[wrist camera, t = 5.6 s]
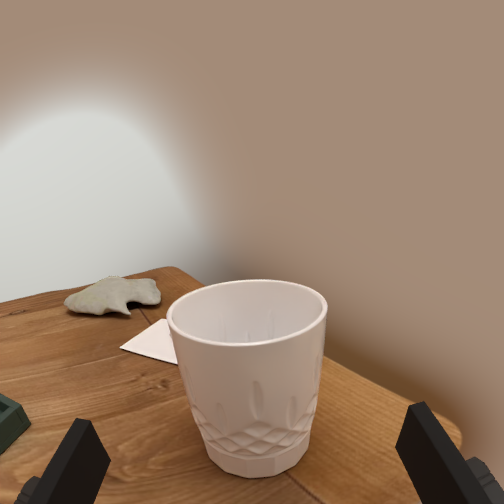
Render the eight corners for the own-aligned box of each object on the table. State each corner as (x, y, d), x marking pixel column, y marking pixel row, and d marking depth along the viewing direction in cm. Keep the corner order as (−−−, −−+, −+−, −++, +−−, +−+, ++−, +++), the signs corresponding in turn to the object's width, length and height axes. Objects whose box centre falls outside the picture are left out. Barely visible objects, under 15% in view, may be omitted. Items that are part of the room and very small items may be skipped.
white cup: (328, 412, 20) (336, 283, 17) (298, 499, 12) (308, 356, 10) (227, 395, 23) (213, 275, 20) (174, 463, 15) (133, 326, 13)
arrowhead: (155, 279, 50) (71, 294, 45) (152, 260, 49) (66, 275, 44) (167, 317, 39) (61, 336, 34) (163, 294, 38) (53, 314, 33)
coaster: (161, 318, 37) (160, 312, 37) (218, 328, 34) (217, 321, 34) (119, 347, 30) (117, 341, 30) (180, 364, 27) (178, 357, 27)
